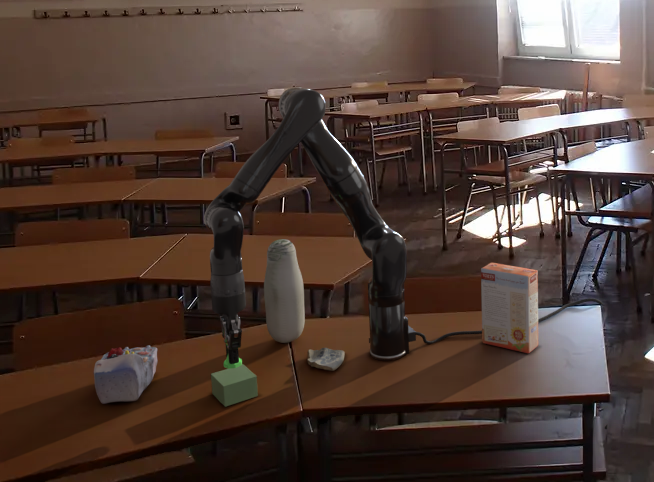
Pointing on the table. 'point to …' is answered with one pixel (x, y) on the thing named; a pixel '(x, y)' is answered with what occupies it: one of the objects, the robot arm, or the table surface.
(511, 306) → the cracker box
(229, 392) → the green block
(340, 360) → the ceramic fragment
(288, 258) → the white bottle
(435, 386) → the table surface
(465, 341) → the table surface
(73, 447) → the table surface
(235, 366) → the game piece
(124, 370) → the cell model
